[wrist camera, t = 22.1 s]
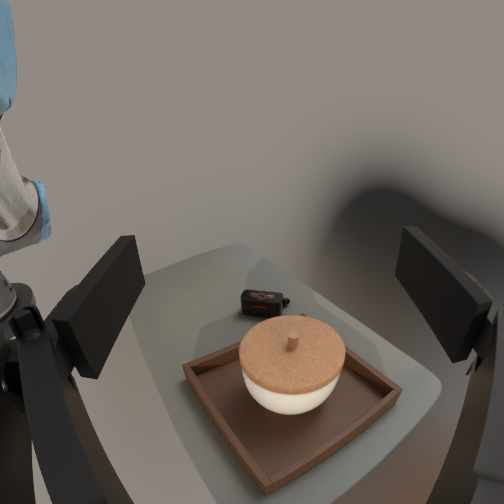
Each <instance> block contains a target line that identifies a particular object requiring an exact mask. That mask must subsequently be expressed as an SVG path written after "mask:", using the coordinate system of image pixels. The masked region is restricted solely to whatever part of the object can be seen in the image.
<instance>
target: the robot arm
mask: <svg viewBox="0 0 504 504" xmlns="http://www.w3.org/2000/svg"><path fill="white" fill-rule="evenodd" d="M14 37H15V35H14V27H13V21H12V15H11V11H10V6H9V3H8V0H0V124H1V121H2V118H3V115H4V112H6V111H7V110H8V109H9V108H10V107H11V105H12V104H13V101H14V98H15V93H16V84H17V63H16V50H15V46H14V40H15V38H14ZM50 235H51V222H50V217H49V210H48V204H47V199H46V194H45V189H44V185H43V182H42V181H41V180H37V181H35V180H33V181H31V182H30V181H29V180H28V179H27V178H25V177H23V176H20V174H19V172H18V170H17V168H16V165H15V163H14V161H13V158H12V156H11V153H10V151H9V148H8V145H7V143H6V140H5V138H4V135H3V132H2V129H1V126H0V256H3V255H5V254H8V253H11V252H14V251H16V250H19V249H22V248H25V247H27V246H30V245H33V244H38V243H40V242H41V241H43V240H46V239H48V238H49V237H50ZM395 276H396V277H397V279H398V280H399V281H400V283H401V284H402V286H403V287H404V289H405V290H406V292H407V293H408V294H409V296H410V297H411V299H412V300H413V302H414V303H415V305H416V306H417V307H418V309H419V311H420V312H421V313H422V315H423V317H424V318H425V320H426V321H427V323H428V324H429V326H430V327H431V329H432V331H433V332H434V334H435V335H436V337H437V338H438V340H439V342H440V343H441V345H442V347H443V348H444V350H445V352H446V353H447V355H448V357H449V358H450V360H451V362H452V363H455V362H459V361H463V360H467V358H468V356H469V354H470V352H471V350H472V348H473V349H474V350H475V351H476V353H477V355H476V357H475V358H474V360H473V362H472V364H471V366H470V368H469V369H468V371H467V373H466V375H468V374H469V373H470V372H471V375H470V380H469V384H468V388H467V392H466V396H465V400H464V404H463V408H462V411H461V415H460V418H459V422H458V425H457V428H456V431H455V434H454V437H453V440H452V443H451V446H450V448H449V451H448V454H447V457H446V459H445V462H444V464H443V467H442V469H441V472H440V474H439V476H438V479H437V481H436V483H435V485H434V488H433V490H432V492H431V494H430V496H429V498H428V500H427V502H426V504H504V305H500V304H499V303H498V302H497V301H496V300H495V299H494V298H493V297H492V296H491V294H489V292H488V291H487V290H485V289H484V287H483V286H482V285H481V284H479V282H478V281H477V280H476V279H475V278H474V277H473V276H472V275H470V274H469V273H467V272H465V271H464V270H462V269H461V268H460V267H459V266H458V265H457V264H456V263H455V262H454V261H453V260H452V259H451V258H450V257H449V256H448V255H447V254H446V253H445V252H444V251H443V250H442V249H441V248H439V247H438V246H437V245H436V244H435V243H434V242H433V241H432V240H431V239H429V238H428V237H427V236H426V235H425V234H424V233H423V232H422V231H421V230H419V229H418V228H417V227H416V226H415V227H414V226H413V227H411V226H409V227H403V232H402V238H401V244H400V250H399V255H398V261H397V266H396V271H395ZM144 286H145V280H144V276H143V272H142V267H141V263H140V258H139V254H138V249H137V245H136V240H135V235H131V236H120V238H119V239H118V240H117V241H116V242H115V243H114V244H113V245H112V246H111V247H110V249H109V250H108V251H107V252H106V253H105V254H104V255H103V257H102V258H101V259H100V260H99V261H98V262H97V263H96V265H95V266H94V267H93V268H92V269H91V271H90V272H89V273H88V274H87V275H86V276H85V278H84V279H83V280H82V281H81V283H80V284H79V285H76V286H74V287H73V288H72V289H70V290H69V291H68V292H67V293H66V294H65V295H64V296H63V298H62V300H61V301H59V302H58V304H57V306H55V308H54V309H53V310H52V312H51V313H50V314H49V315H48V317H47V318H46V319H45V320H44V321H43V319H42V317H41V315H40V312H39V310H38V308H37V306H35V305H25V306H22V307H20V308H18V309H16V310H15V311H14V312H13V313H12V314H11V312H12V311H13V310H14V308H15V307H16V305H17V302H18V297H17V294H16V292H15V290H14V288H13V287H12V285H11V284H10V283H9V281H8V280H7V279H6V278H5V276H4V275H3V274H2V273H1V271H0V323H1V322H2V321H3V320H4V319H6V318H7V317H8V316H9V315H10V314H11V315H10V316H9V318H8V321H7V322H8V324H9V326H10V328H11V330H12V332H13V333H14V335H15V337H16V339H12V340H7V339H6V337H5V335H4V333H3V332H2V331H0V504H36V502H35V495H34V484H33V470H32V441H33V445H34V449H35V453H36V457H37V460H38V464H39V467H40V470H41V473H42V476H43V479H44V482H45V485H46V488H47V491H48V494H49V496H50V499H51V501H52V504H134V503H133V501H132V500H131V498H130V496H129V495H128V493H127V491H126V490H125V488H124V486H123V485H122V483H121V481H120V479H119V478H118V476H117V474H116V472H115V470H114V468H113V467H112V465H111V463H110V461H109V459H108V457H107V455H106V453H105V451H104V449H103V447H102V445H101V443H100V441H99V438H98V436H97V434H96V432H95V430H94V428H93V425H92V423H91V420H90V418H89V416H88V413H87V411H86V408H85V406H84V404H83V401H82V398H81V396H80V393H79V390H78V387H77V385H76V382H75V379H74V378H73V376H72V374H71V372H72V370H73V368H74V366H75V367H76V369H77V371H78V372H79V374H80V376H81V377H87V378H92V379H98V377H99V375H100V373H101V370H102V368H103V366H104V364H105V362H106V360H107V358H108V356H109V354H110V352H111V349H112V347H113V345H114V343H115V341H116V339H117V337H118V335H119V333H120V331H121V329H122V327H123V325H124V323H125V321H126V319H127V318H128V316H129V314H130V312H131V310H132V308H133V306H134V304H135V302H136V300H137V298H138V297H139V295H140V293H141V291H142V289H143V287H144ZM2 384H3V385H4V390H3V386H2Z"/></svg>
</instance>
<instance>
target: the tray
mask: <svg viewBox="0 0 504 504" xmlns="http://www.w3.org/2000/svg"><path fill="white" fill-rule="evenodd" d="M299 316H305V317H307V316H306V315H304V314H301V315H299ZM240 343H241V342H238V343H236V344H233V345H231V346H229V347H226V348H224V349H221V350H219V351H216V352H214V353H211V354H209V355H206V356H204V357H201V358H199V359H196V360H194V361H191V362H189V363H186V364H183V365H182V366H183V370H184V373H185V376H186V379H187V381H188V383H189V385H190V386H191V388H192V390H193V391H194V393H195V395H196V396H197V398H198V400H199V401H200V403H201V404H202V406H203V408H204V409H205V411H206V412H207V414H208V416H209V417H210V419H211V420H212V422H213V423H214V425H215V426H216V428H217V429H218V431H219V432H220V434H221V435H222V437H223V438H224V440H225V441H226V443H227V444H228V446H229V447H230V449H231V450H232V451H233V453H234V454H235V456H236V457H237V458H238V460H239V461H240V463H241V464H242V465H243V467H244V468H245V469H246V471H247V472H248V473H249V475H250V476H251V477H252V479H253V480H254V481H255V483H256V484H257V485H258V486H259V488H260V489H261V490H262V492H263V493H264V494H265V495H267V494H269V493H271V492H273V491H274V490H276V489H278V488H280V487H281V486H283V485H285V484H287V483H288V482H290V481H292V480H293V479H295V478H297V477H298V476H300V475H302V474H303V473H305V472H306V471H308V470H309V469H311V468H313V467H314V466H316V465H317V464H319V463H320V462H322V461H323V460H325V459H326V458H327V457H329V456H330V455H332V454H333V453H335V452H336V451H337V450H339V449H340V448H341V447H343V446H344V445H345V444H347V443H348V442H349V441H351V440H352V439H353V438H355V437H356V436H357V435H359V434H360V433H361V432H362V431H364V430H365V429H366V428H367V427H369V426H370V425H371V424H372V423H373V422H375V421H376V420H377V419H378V418H379V417H380V416H382V415H383V414H384V413H385V412H386V411H387V410H388V409H390V408H391V407H392V406H393V405H394V404H395V403H396V401H397V399H398V398H399V396H400V393H401V391H402V388H401V387H399V386H398V385H397V384H395V383H394V382H393V381H391V380H390V379H389V378H387V377H386V376H385V375H383V374H382V373H381V372H379V371H378V370H377V369H375V368H374V367H373V366H371V365H370V364H369V363H367V362H366V361H365V360H363V359H362V358H361V357H359V356H358V355H357V354H355V353H354V352H353V351H351V350H350V349H349V348H347V347H346V346H345V360H344V364H343V367H342V369H341V372H340V376H339V379H338V381H337V383H336V385H335V387H334V389H333V391H332V392H331V394H330V395H329V397H328V398H327V399H326V400H325V401H324V402H323V403H321V404H320V405H319V406H317V407H316V408H314V409H312V410H310V411H308V412H304V413H301V414H295V415H286V414H279V413H275V412H273V411H270V410H268V409H266V408H265V407H263V406H262V405H260V404H259V403H258V402H257V401H256V400H255V399H254V398H253V397H252V395H251V394H250V392H249V390H248V388H247V386H246V384H245V381H244V377H243V374H242V367H241V364H240V360H239V346H240Z"/></svg>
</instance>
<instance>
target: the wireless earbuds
mask: <svg viewBox="0 0 504 504" xmlns="http://www.w3.org/2000/svg"><path fill="white" fill-rule="evenodd" d="M289 303H290V300H289V299H287V298H283V294H282V293H276V292H266V291H257V290H244V291H243V293H242V295H241V309H242V313H243V314H246V315H253V316H262V317H270V318H274V317H278V316H281V314H282V310H283V306H284V307H285V306H286V305H287V304H289Z"/></svg>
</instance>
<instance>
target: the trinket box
mask: <svg viewBox="0 0 504 504" xmlns="http://www.w3.org/2000/svg"><path fill="white" fill-rule="evenodd" d="M239 360H240V364H241V367H242V374H243V377H244V381H245V384H246V386H247V388H248V390H249V392H250V394H251V395H252V397H253V398H254V399H255V400H256V401H257V402H258V403H259V404H260V405H262V406H263V407H265V408H266V409H268V410H270V411H273V412H275V413H279V414H286V415H295V414H301V413H304V412H308V411H310V410H312V409H314V408H316V407H317V406H319V405H320V404H321V403H323V402H324V401H325V400H326V399H327V398H328V397H329V395H330V394H331V392H332V391H333V389H334V387H335V385H336V383H337V381H338V379H339V376H340V372H341V369H342V367H343V364H344V360H345V345H344V342H343V340H342V338H341V337H340V336H339V334H338V333H337V332H336V331H335V330H334V329H333V328H332V327H330V326H329V325H327V324H326V323H324V322H322V321H319V320H317V319H314V318H310V317H305V316H297V315H287V316H278V317H274V318H270V319H267V320H265V321H262V322H260V323H258V324H257V325H255V326H254V327H252V328H251V329H250V330H249V331H248V332H247V333H246V334H245V335H244V337H243V338H242V340H241V343H240V346H239Z"/></svg>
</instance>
